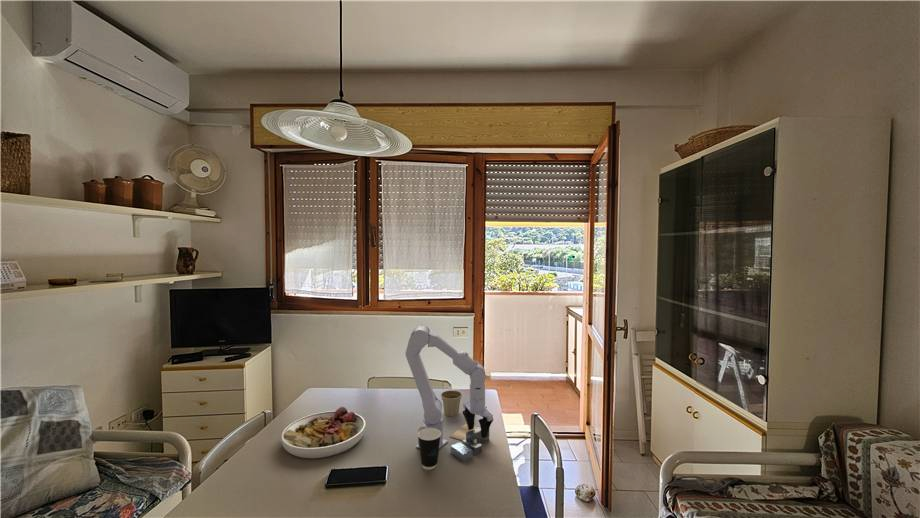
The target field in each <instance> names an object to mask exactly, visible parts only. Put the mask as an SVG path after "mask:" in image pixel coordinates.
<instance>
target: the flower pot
mask: <svg viewBox="0 0 920 518" xmlns="http://www.w3.org/2000/svg"><path fill="white" fill-rule="evenodd" d="M440 397H441V400H442V404H443V405H442V407H443V410H444V411H443V412H444V415H445V416H447V417H455V416H456V417H457V416H458V415H459V413H460V406H461V404H460V403H461V400H462V397H463V393H462V392H461V391H459V390H454V389H453V390H449V389H448V390H445V391H442V392H441V393H440Z"/></svg>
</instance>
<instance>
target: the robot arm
mask: <svg viewBox="0 0 920 518" xmlns="http://www.w3.org/2000/svg"><path fill="white" fill-rule="evenodd" d="M426 346H427V348H434V347H435V348H437V350H439V351H441V352H442V353H443V354H445V355H446V356H448V357H449V358H450V359H452V364H453V365H454V366H455V367H457V368H458V369H459V370H460V371H462V373H464V374H465V375H468V376H469V379H470V381H469V382H470V383H469V402H468V401H467V402H463V403H462V407H463V409H464V410H463V411H462V413H461V414H462V415H463V416H464V420H465V422H466V423H467V426H468V429H469V430H472V429H474V425H475V419H476V418H475V417H476V416H480V417H482V418H480V419H478V424H479V426H480V427H481V436H482V438H485V437H487V435H488V431H489V432H490V427H491V425H492V424H493V422H494V415H493V413H491V412H490V411H489V410H488V407H487V406H486V384H485V383H486V378H487V374H486V370H485V368H484V366H483V365H482V363H481V362H479V361H477V360H474V359H473V358H472V357H471V356H470V355H469V353H468V352H467V351H465V352H464V351H462V350H461V351H458V350H456V349H455V348H454V347H453V346H452V345H450V344H449V343H448V342H447V341H446V340H445V339H443V338H442V336H440V335H439V334H438V333H437V332H435V331H434V330H433V329H431V328H430V329H429V327H428V326H427V325H423V324H420V325H419V324H418V325H417V326H415V328H414V329H413V331H412V332H411V334H410V336H409V338H408V342H407V345H406V350H405V357H406V361H407V363H408V365H409V368H410V371H411V375H412V376H413V379H414V381H415V385H416V387H417V390H418V393H419V396H420V398H421V401H422V408H423V412H424V414H423V423H422V424H421V426H420V427H419V429H418V430H417V433H418V432H419V431H420V430H422V429H425V428H435V429H438V430H440V432H441V436H440V443H439V449H440V448H442V447H443V446H445V445H446V444H447V443H448V442H449V441H448V440H447V439H444V418H443V416H442V407H443V405H442V404H443V403H442V402H441V400H440V399H439V398H438V397H437V395H436V393H435V391H434V390H433V387H432V383H431V382H430V379H429V375H428V374H427V371H426V369H425V366H424V362H423V360H422V357H421V355H420V353H421V352H422V351H423V348H425V347H426ZM415 447H416V448H418V449H420V446H419V437H418V436H417V444H416V446H415Z"/></svg>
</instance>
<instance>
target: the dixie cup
mask: <svg viewBox="0 0 920 518" xmlns="http://www.w3.org/2000/svg"><path fill="white" fill-rule="evenodd" d="M440 436H441V432H440V430H438V429H435V428H425V429H422V430H420V431H419V432H418V431H417V438H418V437H419V446H420V448H419V452H420V453H419V454H420V463H421V465H422V467H421V468H423V469H424V470H428V471H429V470H433V469H436V467H437V464H438V460H439V453H440V448H439V443H440Z"/></svg>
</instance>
